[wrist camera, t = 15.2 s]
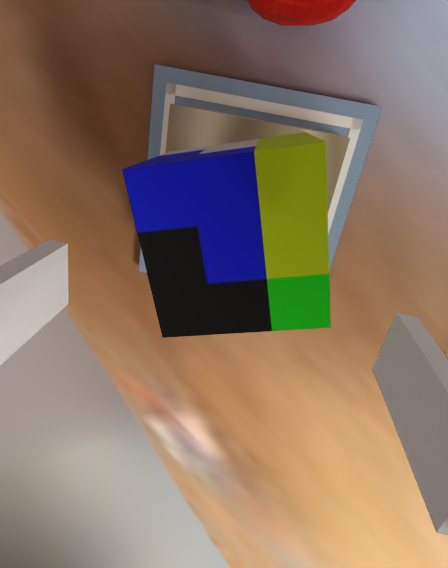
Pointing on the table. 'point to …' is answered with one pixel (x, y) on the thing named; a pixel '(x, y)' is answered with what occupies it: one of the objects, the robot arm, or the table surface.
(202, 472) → the table surface
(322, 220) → the puzzle toy
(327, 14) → the apple
